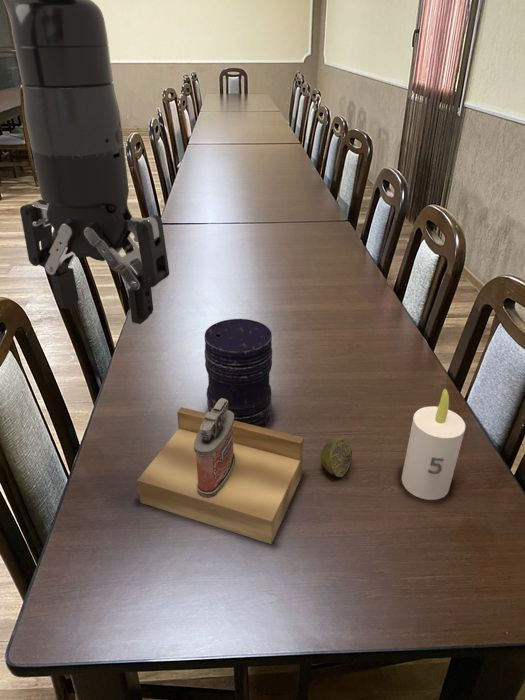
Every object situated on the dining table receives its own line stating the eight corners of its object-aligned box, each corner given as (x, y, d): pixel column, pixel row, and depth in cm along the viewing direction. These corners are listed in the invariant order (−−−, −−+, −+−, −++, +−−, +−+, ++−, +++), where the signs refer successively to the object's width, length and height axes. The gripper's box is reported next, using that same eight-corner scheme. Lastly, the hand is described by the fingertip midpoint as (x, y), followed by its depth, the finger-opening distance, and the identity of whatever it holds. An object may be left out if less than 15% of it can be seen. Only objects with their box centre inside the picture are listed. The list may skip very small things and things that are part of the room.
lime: (350, 459, 77) (353, 431, 74) (352, 483, 72) (356, 455, 70) (319, 457, 77) (321, 429, 74) (319, 481, 73) (321, 453, 70)
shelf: (271, 544, 64) (272, 502, 60) (140, 502, 69) (134, 462, 66) (301, 476, 74) (303, 437, 70) (184, 444, 79) (181, 406, 75)
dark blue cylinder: (266, 396, 89) (268, 316, 82) (275, 434, 81) (277, 350, 73) (206, 400, 88) (202, 320, 80) (209, 439, 80) (204, 354, 72)
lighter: (216, 501, 64) (213, 437, 59) (190, 494, 65) (185, 430, 60) (240, 457, 71) (239, 396, 66) (216, 451, 72) (214, 390, 67)
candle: (403, 497, 70) (421, 406, 63) (400, 463, 76) (417, 375, 68) (452, 504, 70) (477, 412, 62) (446, 468, 75) (468, 380, 67)
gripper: (-22, 143, 45) (21, 316, 53) (125, 158, 40) (146, 343, 49) (40, 130, 51) (70, 287, 59) (173, 141, 46) (185, 309, 55)
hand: (104, 312), depth 54 cm, fingers open, 8 cm apart
